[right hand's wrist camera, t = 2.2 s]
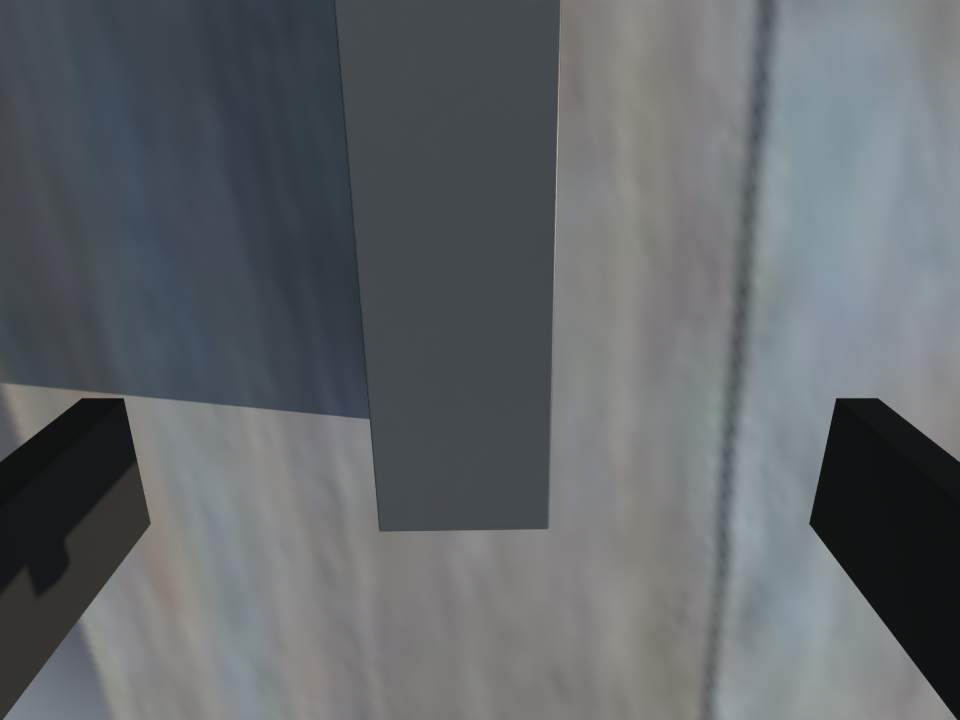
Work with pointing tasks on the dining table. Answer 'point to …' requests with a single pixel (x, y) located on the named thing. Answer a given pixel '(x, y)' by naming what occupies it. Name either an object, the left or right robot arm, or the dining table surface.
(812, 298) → the dining table surface
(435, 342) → the bar
